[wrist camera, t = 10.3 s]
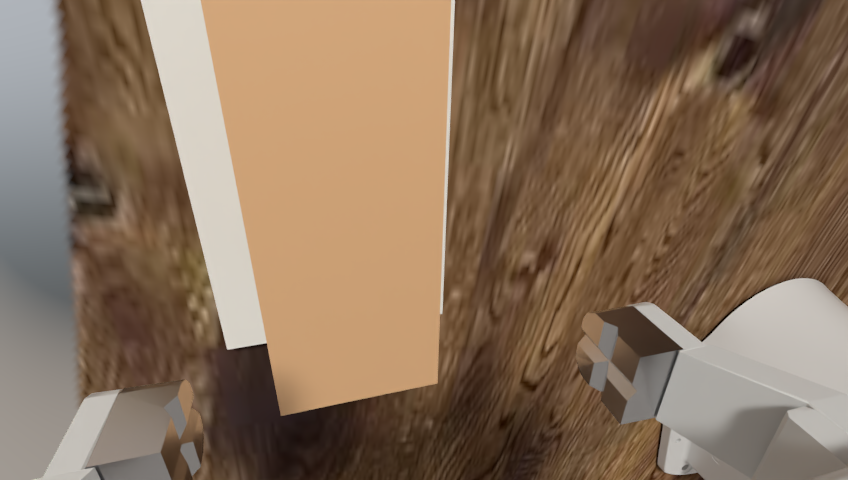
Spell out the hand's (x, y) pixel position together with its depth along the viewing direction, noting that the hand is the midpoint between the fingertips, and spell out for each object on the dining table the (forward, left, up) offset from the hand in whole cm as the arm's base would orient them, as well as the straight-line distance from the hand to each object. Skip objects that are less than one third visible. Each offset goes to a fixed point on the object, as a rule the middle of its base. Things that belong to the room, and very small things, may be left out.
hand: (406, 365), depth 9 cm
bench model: (0, 0, -14) cm, 14 cm away
